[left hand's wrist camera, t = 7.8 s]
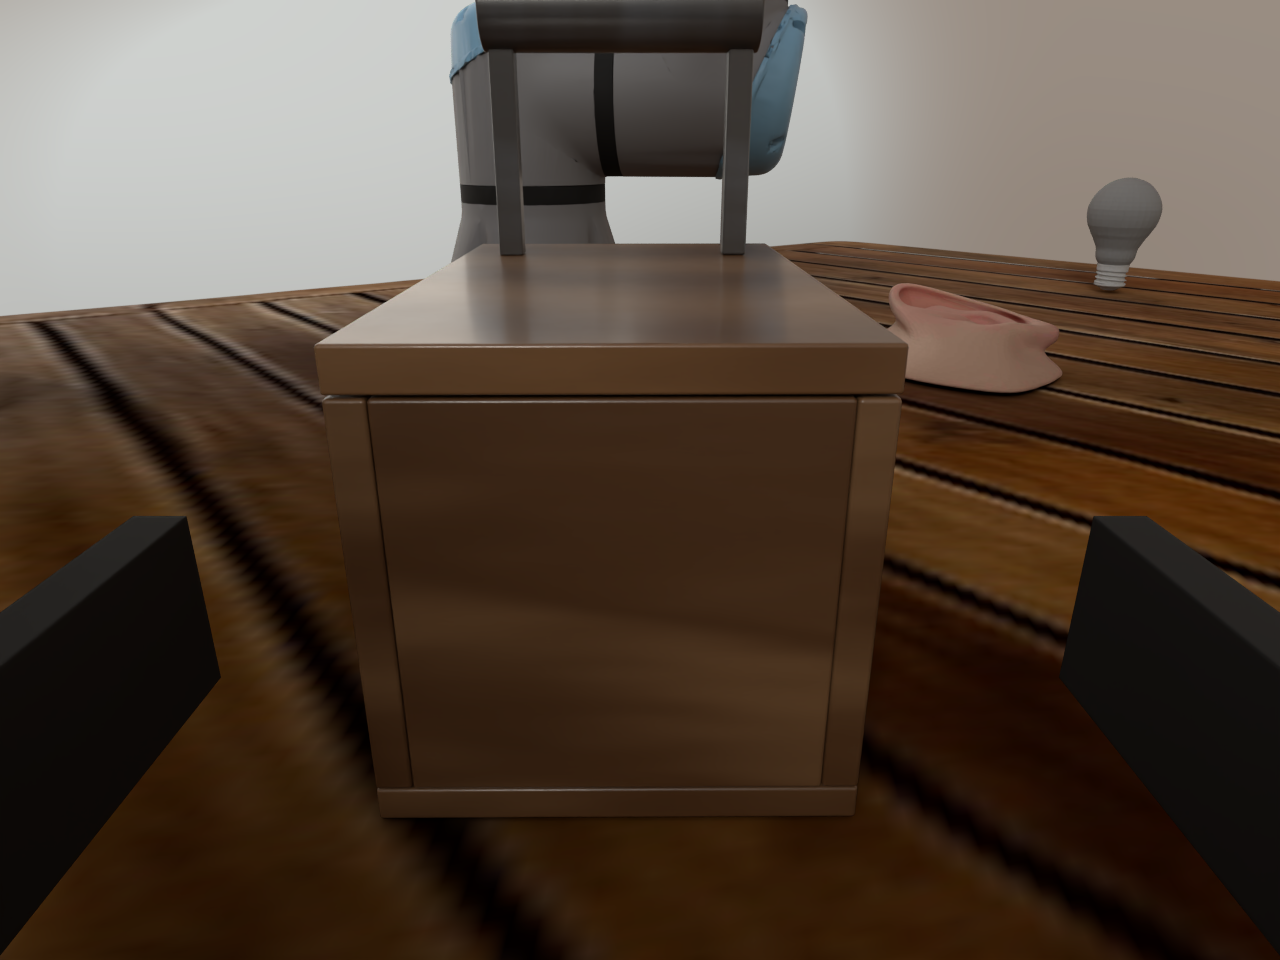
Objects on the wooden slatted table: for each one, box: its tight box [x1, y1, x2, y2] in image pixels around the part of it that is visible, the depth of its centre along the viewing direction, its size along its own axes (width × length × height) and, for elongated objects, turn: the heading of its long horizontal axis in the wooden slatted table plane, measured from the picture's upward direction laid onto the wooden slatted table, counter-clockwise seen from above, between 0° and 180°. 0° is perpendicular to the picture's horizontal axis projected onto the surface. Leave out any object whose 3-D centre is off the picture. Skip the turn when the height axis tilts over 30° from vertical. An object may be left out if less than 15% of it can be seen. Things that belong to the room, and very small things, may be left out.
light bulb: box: [1087, 178, 1162, 290], centre depth 78 cm, size 6×6×10 cm
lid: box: [314, 0, 909, 395], centre depth 20 cm, size 16×10×8 cm, turn 0°
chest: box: [322, 394, 902, 818], centre depth 22 cm, size 15×10×9 cm, turn 0°
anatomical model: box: [887, 283, 1062, 393], centre depth 52 cm, size 13×4×12 cm
